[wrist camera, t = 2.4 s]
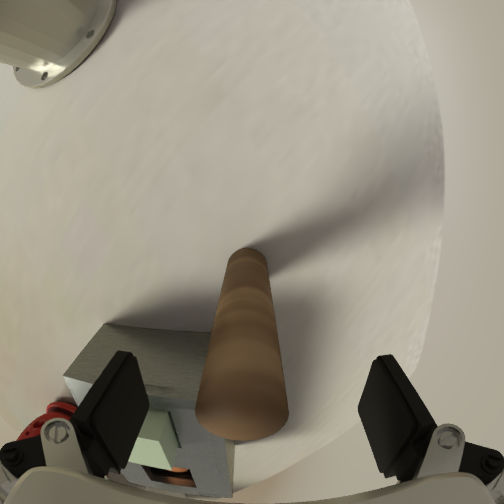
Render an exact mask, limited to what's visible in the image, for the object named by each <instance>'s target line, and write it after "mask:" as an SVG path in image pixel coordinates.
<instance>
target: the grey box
mask: <svg viewBox="0 0 504 504" xmlns="http://www.w3.org/2000/svg"><path fill="white" fill-rule="evenodd" d="M210 337H211V333H204V332H185V331H170V330H157V329H146V328H136V327H126V326H117V325H109V324H103V326H102V327H101V328H100V329H99V330H98V332H97V333H96V334H95V335H94V337H93V338H92V339H91V340H90V341H89V343H88V344H87V345H86V346H85V348H84V349H83V350H82V351H81V353H80V354H79V355H78V356H77V358H76V359H75V360H74V362H73V363H72V364H71V365H70V367H69V368H68V369H67V371H66V372H65V373H64V375H63V378H64V380H65V382H66V384H67V386H68V388H69V390H70V392H71V394H72V396H73V398H74V400H75V402H76V404H77V405H78V406H79V405H80V403H81V402H82V400H83V399H84V397H85V396H86V394H87V393H88V391H89V390H90V388H91V387H92V385H93V384H94V382H95V381H96V380H97V379H98V377H99V376H100V374H101V373H102V371H103V370H104V369H105V367H106V366H107V364H108V363H109V361H110V360H111V359H112V357H113V356H114V354H115V353H116V352H117V351H118V350H121V351H127V352H131V353H132V354H133V356H136V358H137V361H138V364H139V368H140V372H141V375H142V379H143V383H144V386H145V389H146V393H147V396H148V399H149V404H150V406H149V409H155V410H162V411H169V412H171V416H172V419H173V422H174V426H175V429H176V432H177V435H178V438H179V443H178V447H177V451H176V456H175V460H174V465H173V467H178V468H185V469H188V470H187V471H185V472H174V471H169V470H166V469H161V468H155V467H150V466H146V465H141V464H137V463H132V462H128V463H127V466H126V468H125V469H121V471H120V472H121V473H122V474H123V476H124V477H125V478H126V479H127V481H128V482H130V483H134V484H138V485H142V486H147V487H151V488H156V489H161V490H166V491H172V492H178V493H184V494H192V495H200V496H210V497H225V498H232V494H233V473H234V453H235V440H231V439H226V438H223V437H220V436H217V435H215V434H213V433H211V432H209V431H208V430H206V429H205V428H204V427H203V426H202V425H201V424H200V423H199V422H198V420H197V418H196V416H195V406H196V401H197V396H198V391H199V387H200V382H201V377H202V373H203V368H204V364H205V359H206V355H207V350H208V346H209V341H210Z"/></svg>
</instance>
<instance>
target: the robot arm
mask: <svg viewBox="0 0 504 504" xmlns="http://www.w3.org/2000/svg"><path fill="white" fill-rule="evenodd" d="M115 7H116V0H0V62H1V63H5V64H9V65H12V66H13V69H14V75H15V77H16V79H17V81H18V82H19V83H20V84H21V85H24V86H26V87H30V88H43V87H46V86H49V85H51V84H53V83H55V82H57V81H59V80H60V79H62V78H63V77H65V76H66V75H67V74H69V73H70V72H71V71H72V70H73V69H75V68H76V67H77V66H78V65H79V64H80V63H81V62H82V61H83V60H84V59H85V58H86V57H87V56H88V55H89V54H90V53H91V51H92V50H93V49H94V47H95V46H96V45H97V44H98V42H99V41H100V39H101V38H102V36H103V35H104V33H105V32H106V30H107V28H108V26H109V24H110V22H111V20H112V18H113V15H114V12H115ZM149 406H150V404H149V399H148V396H147V393H146V389H145V386H144V383H143V379H142V375H141V372H140V368H139V364H138V361H137V358H136V356H133V354H132V353H131V352H127V351H121V350H118V351H117V352H116V353H115V354H114V356H113V357H112V359H111V360H110V361H109V363H108V364H107V366H106V367H105V369H104V370H103V371H102V373H101V374H100V376H99V377H98V379H97V380H96V381H95V382H94V384H93V385H92V387H91V388H90V390H89V391H88V393H87V394H86V396H85V397H84V399H83V400H82V402H81V403H80V405H79V406H78V408H77V409H76V411H75V412H74V414H73V415H72V417H71V418H70V420H69V421H68V420H66V419H64V418H53V419H50V420H48V421H47V422H45V424H44V425H43V426H42V428H41V435H38V436H34V437H30V438H26V439H22V440H18V441H13V442H10V443H7V444H5V445H4V446H3V447H2V448H1V450H0V504H240V503H224V502H212V501H203V500H195V499H188V498H181V497H175V496H170V495H165V494H160V493H155V492H151V491H147V490H143V489H138V488H134V487H131V486H127V485H123V484H120V483H116V482H113V481H110V480H108V478H107V474H108V472H109V471H110V472H113V473H117V474H120V471H121V469H125V468H126V466H127V463H128V460H129V458H130V455H131V453H132V450H133V448H134V445H135V442H136V440H137V437H138V435H139V432H140V430H141V427H142V425H143V423H144V420H145V418H146V415H147V413H148V410H149ZM358 413H359V416H360V418H361V421H362V423H363V426H364V429H365V432H366V435H367V438H368V440H369V443H370V446H371V449H372V452H373V455H374V458H375V460H376V463H377V466H378V469H379V471H380V473H384V476H385V478H389V477H392V476H396V477H397V480H398V482H397V484H396V485H392V486H388V487H385V488H381V489H377V490H372V491H368V492H363V493H359V494H354V495H349V496H343V497H338V498H332V499H324V500H317V501H307V502H296V503H279V504H504V457H503V456H502V454H501V453H500V452H499V451H497V450H494V449H490V448H486V447H482V446H479V445H475V444H472V443H468V442H465V435H464V432H463V431H462V430H461V428H459V427H458V426H456V425H453V424H442V425H440V426H437V424H436V423H435V421H434V419H433V418H432V416H431V415H430V413H429V411H428V409H427V408H426V406H425V404H424V403H423V401H422V400H421V398H420V397H419V395H418V393H417V392H416V390H415V389H414V387H413V386H412V384H411V382H410V381H409V379H408V378H407V376H406V375H405V373H404V372H403V370H402V368H401V367H400V365H399V364H398V362H397V361H396V359H395V358H394V356H393V355H391V354H390V355H382V356H378V357H377V359H376V360H374V361H373V362H372V366H371V369H370V372H369V375H368V378H367V381H366V384H365V387H364V390H363V393H362V396H361V399H360V402H359V405H358ZM241 504H242V503H241Z"/></svg>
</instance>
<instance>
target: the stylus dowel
mask: <svg viewBox="0 0 504 504" xmlns="http://www.w3.org/2000/svg"><path fill="white" fill-rule="evenodd" d="M195 416H196V418H197V420H198V422H199V423H200V424H201V425H202V426H203V427H204V428H205V429H206V430H208V431H209V432H211V433H213V434H215V435H217V436H220V437H223V438H226V439H231V440H242V441H245V440H256V439H261V438H264V437H267V436H270V435H272V434H274V433H276V432H277V431H279V430H280V429H281V428H282V427H283V426H284V425H285V423H286V422H287V420H288V416H289V411H288V404H287V396H286V389H285V382H284V375H283V368H282V361H281V354H280V348H279V341H278V334H277V327H276V321H275V314H274V307H273V301H272V294H271V288H270V281H269V275H268V269H267V263H266V260H265V258H264V256H263V255H262V254H261V253H260V252H258V251H257V250H254V249H250V248H244V249H240V250H238V251H236V252H235V253H233V254H232V255H231V257H230V258H229V261H228V264H227V268H226V272H225V277H224V281H223V285H222V289H221V293H220V298H219V302H218V306H217V311H216V315H215V319H214V324H213V328H212V332H211V337H210V341H209V346H208V350H207V355H206V359H205V364H204V368H203V373H202V377H201V382H200V387H199V391H198V396H197V401H196V406H195Z"/></svg>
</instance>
